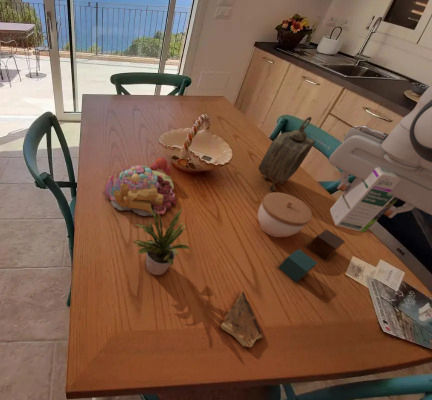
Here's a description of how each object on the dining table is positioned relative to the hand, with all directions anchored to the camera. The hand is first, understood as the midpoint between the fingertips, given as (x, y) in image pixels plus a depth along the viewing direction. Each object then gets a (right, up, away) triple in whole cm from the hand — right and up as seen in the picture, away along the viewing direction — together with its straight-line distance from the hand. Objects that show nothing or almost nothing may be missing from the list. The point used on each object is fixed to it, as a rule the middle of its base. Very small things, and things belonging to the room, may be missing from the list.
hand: (363, 201), depth 57 cm
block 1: (-7, -18, +13) cm, 23 cm away
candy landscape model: (-45, +3, +33) cm, 56 cm away
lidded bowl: (-5, -8, +24) cm, 26 cm away
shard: (-27, -27, +2) cm, 38 cm away
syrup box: (0, -5, +4) cm, 6 cm away
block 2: (+5, -14, +19) cm, 24 cm away
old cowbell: (+5, +7, +42) cm, 43 cm away
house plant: (-43, -16, +13) cm, 47 cm away
